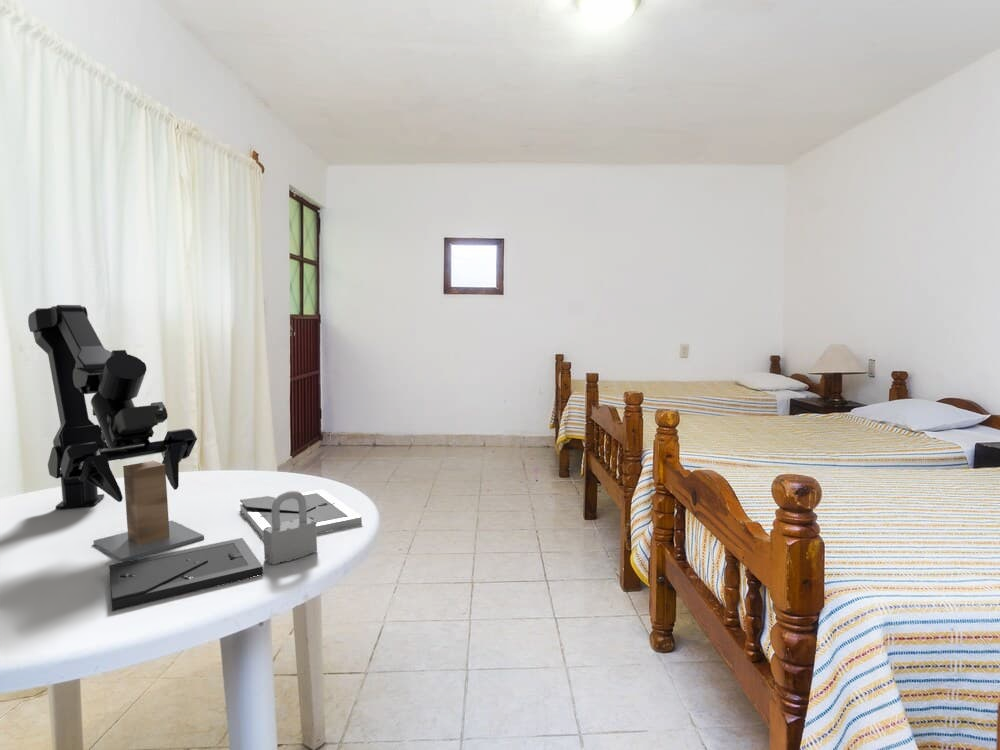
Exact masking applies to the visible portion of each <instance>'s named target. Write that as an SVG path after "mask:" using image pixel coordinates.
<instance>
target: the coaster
mask: <svg viewBox="0 0 1000 750" xmlns="http://www.w3.org/2000/svg"><path fill="white" fill-rule="evenodd" d="M169 534H170V537H168V538H164V539H161V540H157V541H153V542H150V543H146V544H142V545H138V544H136V543H134V542H133V541H131V540H129V539H128V531H125V532H122V533H117V534H114V535H110V536H106V537H105V536H104V537H102V538H98V539H95V540H94V539H93V540H92V541H93V545H94V546H95V547H97V548H99V549H100V550H102V551H103V552H104V553H107V555H110V556H111V557H113V558H114V559H115V560H117V561H119V563H120V562H125V561H130V560H135V559H140V558H145V557H148V556H152V555H153V554H156V553H161V552H164V551H167V550H170V549H175V548H178V547H181V546H184V545H185V546H186V545H188V544H192V543H194V542H195V543H196V542H198V541H201V540H202V541H203V540H204V539H205V534H202V533H199V531H196V530H193V529H191V528H190V527H187V526H185V525H182V524H180V523H178V522H176V521H174V520H169Z"/></svg>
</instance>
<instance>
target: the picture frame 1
mask: <svg viewBox="0 0 1000 750" xmlns="http://www.w3.org/2000/svg"><path fill="white" fill-rule="evenodd" d="M108 570H109V571H108V573H109V574H108V575H109V588H110V600H111V601H110V604H111V612H115V611H119V610H123V609H127V608H131V607H132V608H133V607H136V606H140V605H145V604H149V603H152V602H157V601H161V600H166V599H169V598H173V597H178V596H182V595H186V594H190V593H195V592H198V591H203V590H208V589H211V588H215V586H216V587H219V586H218V585H220V586H223V585H222V584H224V585H226V584H227V583H228V584H232V583H236V582H239V581H238V580H241V581H244V580H243V579H245V580H247V579H246V578H249V579H251V578H250V577H253V576H257V575H261V576H263V575H264V569H263V565H262V563H261V562H260V560H259V559H258V558H257V556H256V555H255V554H254V552H253V551H252V549H251V548H250V547H249V545H248V544H247V542H246V541H245V539H244V538H243V537H240V538H234V539H230V540H226V541H224V540H223V541H221V542H215V543H211V544H205V545H200V546H195V547H191V548H185V549H181V550H175V551H170V552H166V553H161V554H156V555H149V556H144V557H140V558H137V559H133V560H130V561H125V562H120V561H119V562H117V563H111V564H109V565H108ZM262 574H263V575H262ZM257 577H258V576H257ZM253 578H254V577H253ZM235 581H236V582H235ZM231 582H232V583H231ZM228 584H227V585H228ZM202 589H203V590H202Z"/></svg>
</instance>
